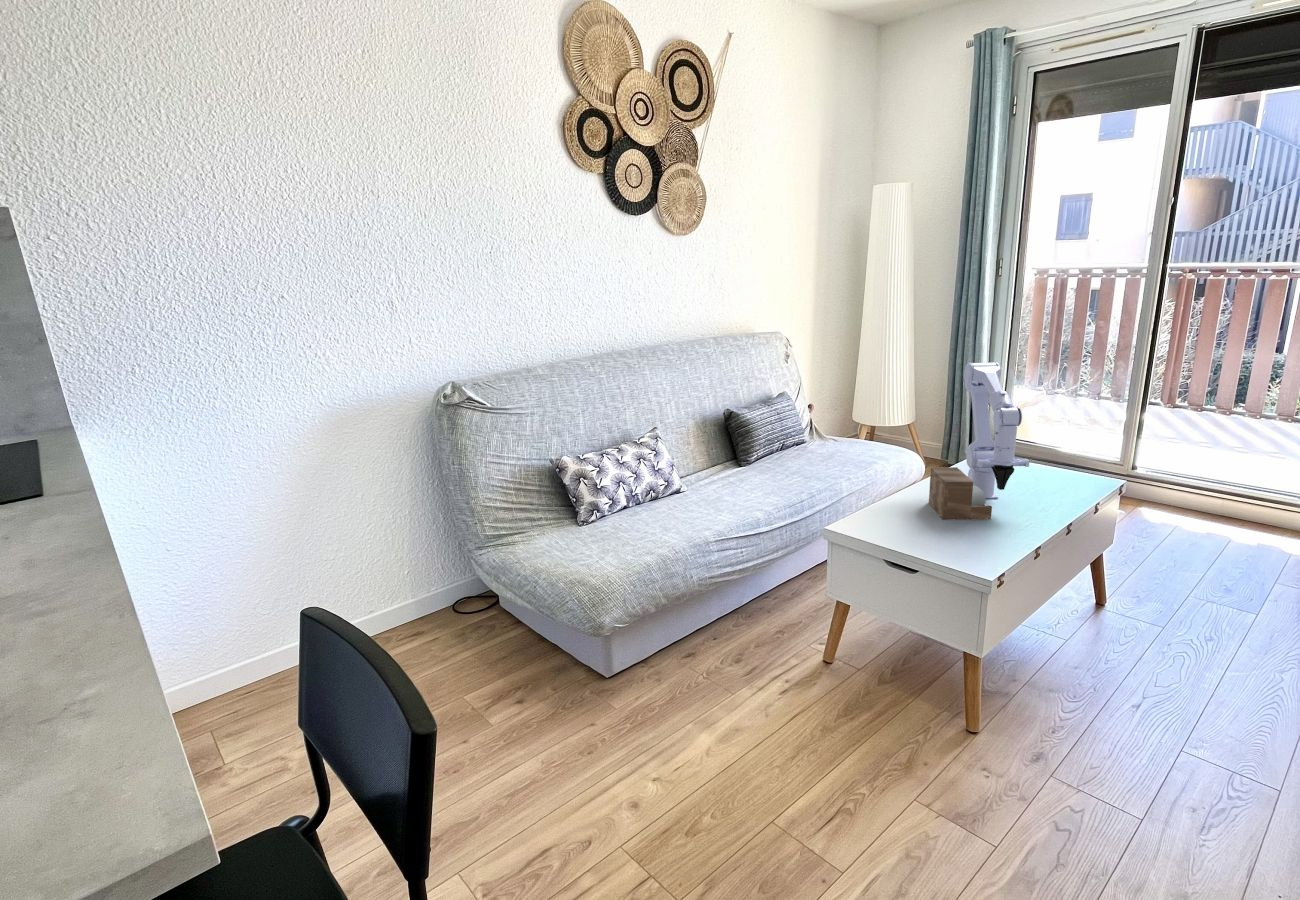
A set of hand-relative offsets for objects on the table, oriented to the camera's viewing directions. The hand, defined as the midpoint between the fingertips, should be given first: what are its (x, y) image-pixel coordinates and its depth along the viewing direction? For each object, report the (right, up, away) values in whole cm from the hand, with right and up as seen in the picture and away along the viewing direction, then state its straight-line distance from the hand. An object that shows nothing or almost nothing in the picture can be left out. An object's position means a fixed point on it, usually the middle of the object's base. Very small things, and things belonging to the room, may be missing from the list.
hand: (1000, 488), depth 216 cm
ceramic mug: (-9, -8, +2) cm, 12 cm away
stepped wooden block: (-12, -7, +3) cm, 14 cm away
